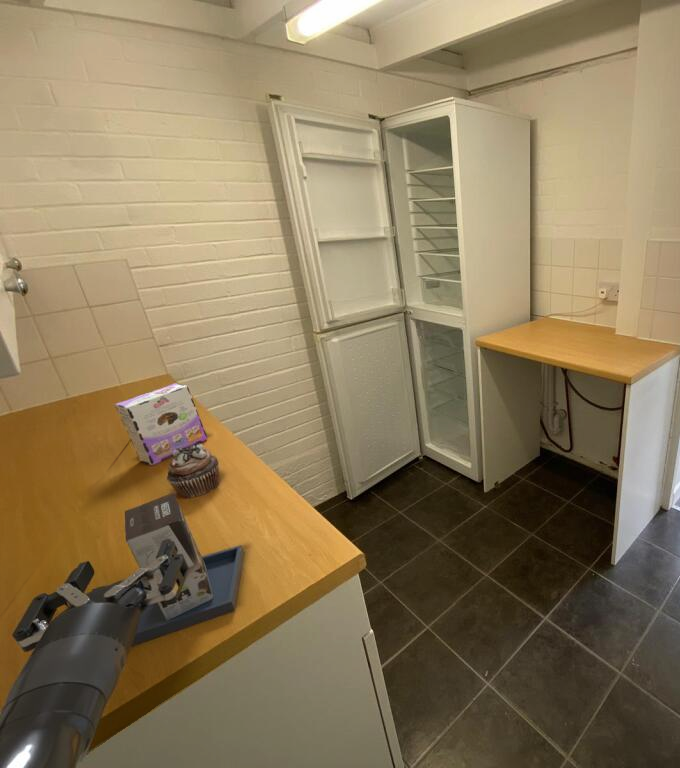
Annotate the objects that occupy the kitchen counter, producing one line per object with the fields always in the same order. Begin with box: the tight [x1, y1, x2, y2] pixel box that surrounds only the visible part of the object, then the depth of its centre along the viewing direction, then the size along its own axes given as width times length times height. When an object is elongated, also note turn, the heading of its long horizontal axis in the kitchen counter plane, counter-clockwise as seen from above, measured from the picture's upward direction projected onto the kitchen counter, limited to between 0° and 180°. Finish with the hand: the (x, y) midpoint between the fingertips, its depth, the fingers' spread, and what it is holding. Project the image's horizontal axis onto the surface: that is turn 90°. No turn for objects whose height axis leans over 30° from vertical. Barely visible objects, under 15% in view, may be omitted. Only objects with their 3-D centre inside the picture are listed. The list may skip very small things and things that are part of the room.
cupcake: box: [166, 443, 221, 499], centre depth 94 cm, size 10×10×10 cm
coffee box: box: [124, 492, 213, 621], centre depth 65 cm, size 9×6×16 cm
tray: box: [131, 544, 245, 647], centre depth 68 cm, size 15×13×2 cm
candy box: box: [114, 382, 209, 466], centre depth 108 cm, size 14×6×16 cm, turn 155°
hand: (129, 555), depth 55 cm, fingers open, 8 cm apart
